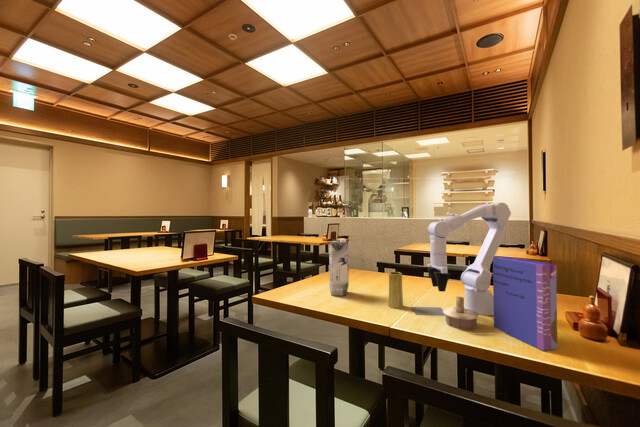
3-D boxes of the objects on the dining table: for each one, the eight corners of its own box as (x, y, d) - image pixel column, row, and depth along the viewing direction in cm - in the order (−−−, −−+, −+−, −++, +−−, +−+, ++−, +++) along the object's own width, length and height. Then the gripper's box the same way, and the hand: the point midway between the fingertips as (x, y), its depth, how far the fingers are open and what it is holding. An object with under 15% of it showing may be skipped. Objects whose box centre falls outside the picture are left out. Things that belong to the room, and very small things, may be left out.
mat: (440, 308, 119) (440, 307, 119) (448, 316, 109) (448, 315, 109) (410, 307, 120) (410, 306, 120) (416, 315, 110) (416, 314, 110)
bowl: (469, 321, 104) (469, 310, 104) (480, 331, 95) (480, 318, 95) (443, 320, 105) (443, 309, 105) (451, 330, 96) (451, 318, 96)
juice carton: (328, 296, 139) (328, 239, 139) (331, 290, 149) (331, 237, 150) (347, 296, 137) (347, 239, 138) (349, 291, 148) (348, 238, 148)
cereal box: (557, 349, 82) (556, 264, 82) (543, 351, 81) (542, 264, 81) (505, 327, 99) (504, 256, 99) (493, 328, 98) (492, 256, 98)
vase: (403, 310, 117) (403, 274, 118) (388, 309, 119) (388, 274, 119) (402, 305, 123) (402, 271, 124) (387, 304, 125) (387, 271, 125)
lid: (471, 309, 105) (471, 294, 105) (483, 320, 94) (483, 302, 94) (439, 308, 107) (439, 292, 107) (447, 318, 96) (447, 301, 96)
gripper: (422, 251, 119) (423, 284, 119) (433, 255, 105) (433, 293, 105) (440, 251, 119) (441, 284, 119) (453, 255, 104) (453, 293, 104)
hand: (438, 288), depth 112 cm, fingers open, 7 cm apart
